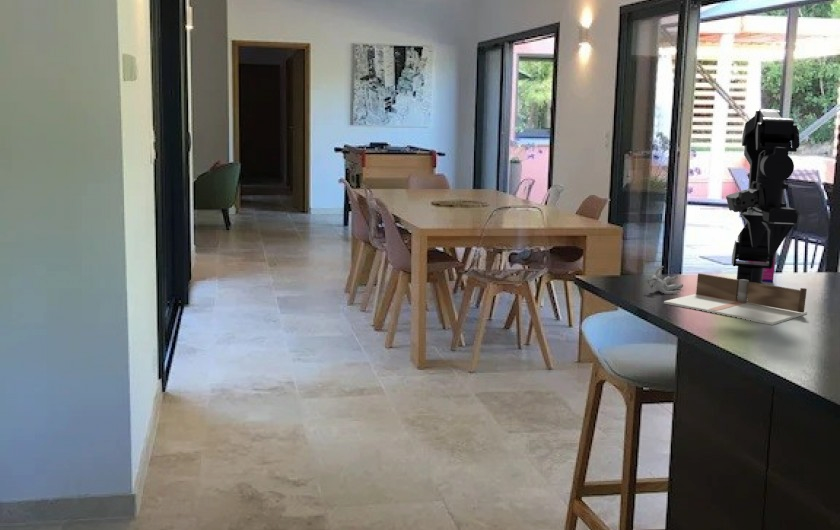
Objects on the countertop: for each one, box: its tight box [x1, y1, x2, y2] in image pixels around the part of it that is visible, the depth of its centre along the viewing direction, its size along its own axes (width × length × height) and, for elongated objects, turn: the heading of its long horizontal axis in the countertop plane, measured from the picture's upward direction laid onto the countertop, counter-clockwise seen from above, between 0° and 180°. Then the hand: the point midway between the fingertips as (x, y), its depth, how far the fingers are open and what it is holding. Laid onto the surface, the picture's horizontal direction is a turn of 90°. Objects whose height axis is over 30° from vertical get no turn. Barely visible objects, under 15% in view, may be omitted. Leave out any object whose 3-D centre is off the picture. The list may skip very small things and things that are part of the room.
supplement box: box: [746, 253, 776, 283], centre depth 224 cm, size 6×6×12 cm
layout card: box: [663, 293, 808, 326], centre depth 188 cm, size 17×24×1 cm
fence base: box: [695, 272, 749, 303], centre depth 196 cm, size 2×12×5 cm, turn 45°
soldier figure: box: [646, 265, 684, 295], centre depth 204 cm, size 8×5×12 cm
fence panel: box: [747, 282, 808, 313], centre depth 187 cm, size 12×1×5 cm, turn 45°
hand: (762, 250), depth 188 cm, fingers open, 9 cm apart
